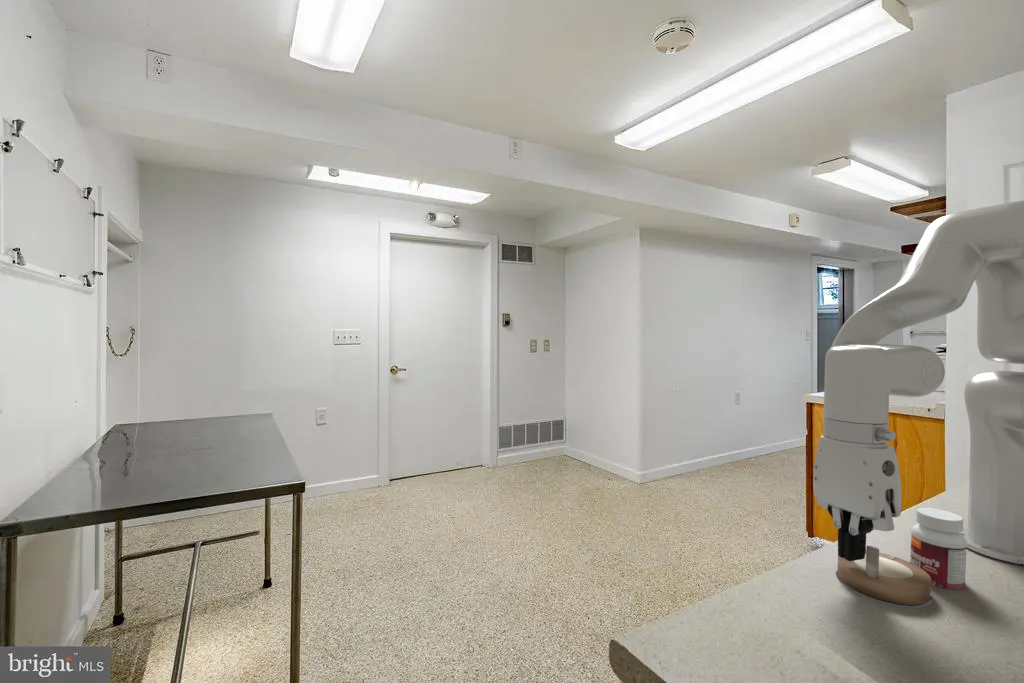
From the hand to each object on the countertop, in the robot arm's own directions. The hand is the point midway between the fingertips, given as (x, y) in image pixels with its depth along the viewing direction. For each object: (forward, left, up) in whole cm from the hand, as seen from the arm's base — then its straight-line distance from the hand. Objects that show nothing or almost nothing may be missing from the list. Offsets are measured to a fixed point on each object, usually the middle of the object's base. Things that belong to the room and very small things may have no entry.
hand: (851, 557), depth 68 cm
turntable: (-4, +1, -4) cm, 6 cm away
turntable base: (-4, +1, -6) cm, 7 cm away
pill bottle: (-14, +2, -6) cm, 16 cm away
